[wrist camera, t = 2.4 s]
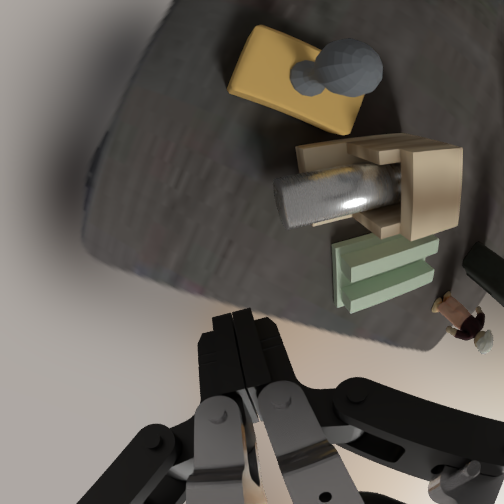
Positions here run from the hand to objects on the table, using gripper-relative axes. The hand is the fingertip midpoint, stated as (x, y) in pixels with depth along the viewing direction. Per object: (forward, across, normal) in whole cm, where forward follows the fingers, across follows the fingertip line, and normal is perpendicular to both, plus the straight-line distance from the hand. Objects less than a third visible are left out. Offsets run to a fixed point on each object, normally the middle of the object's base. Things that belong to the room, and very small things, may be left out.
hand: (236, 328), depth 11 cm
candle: (+16, -37, +17) cm, 44 cm away
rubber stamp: (+16, -9, -9) cm, 20 cm away
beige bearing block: (+16, -14, 0) cm, 21 cm away
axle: (+12, -12, 0) cm, 17 cm away
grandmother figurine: (+16, -31, +23) cm, 42 cm away
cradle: (+16, -17, +11) cm, 26 cm away
